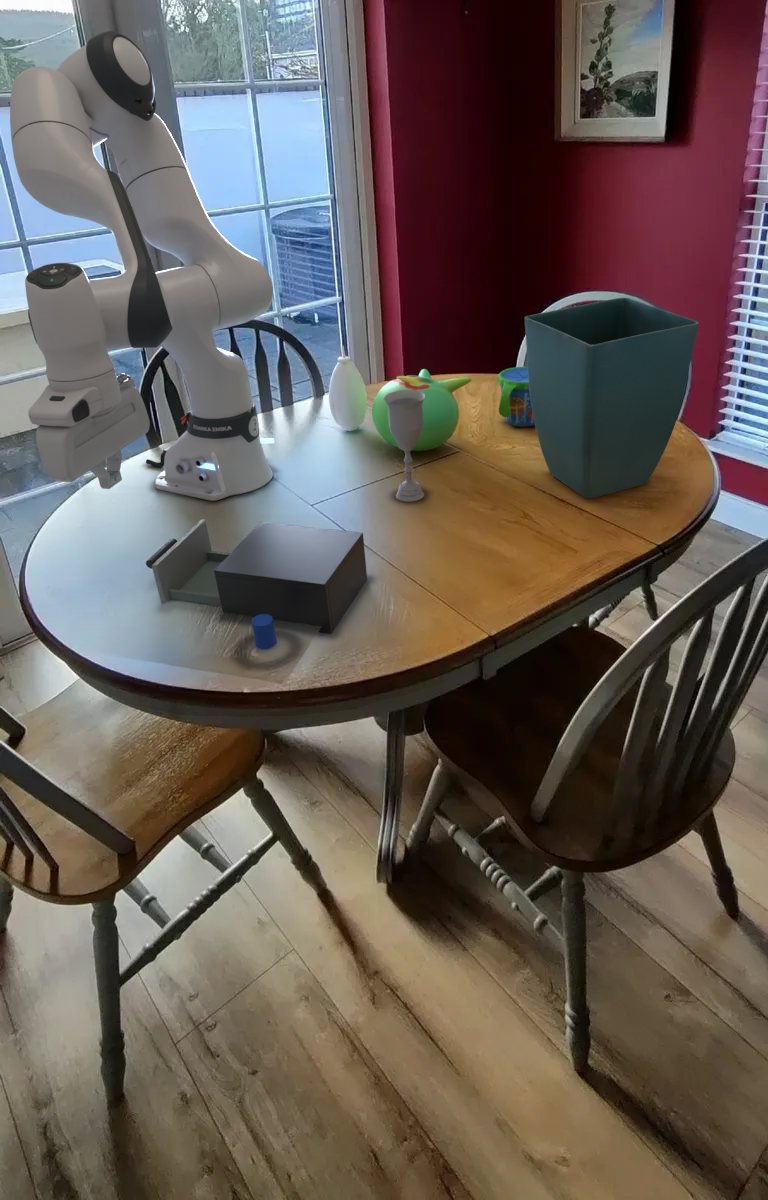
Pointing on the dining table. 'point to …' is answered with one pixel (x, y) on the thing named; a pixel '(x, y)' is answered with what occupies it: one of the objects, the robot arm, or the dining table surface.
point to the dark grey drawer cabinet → (293, 574)
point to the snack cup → (515, 397)
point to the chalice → (406, 434)
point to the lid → (264, 631)
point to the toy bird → (423, 408)
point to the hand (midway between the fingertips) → (111, 484)
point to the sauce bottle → (347, 394)
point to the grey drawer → (188, 568)
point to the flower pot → (606, 390)
